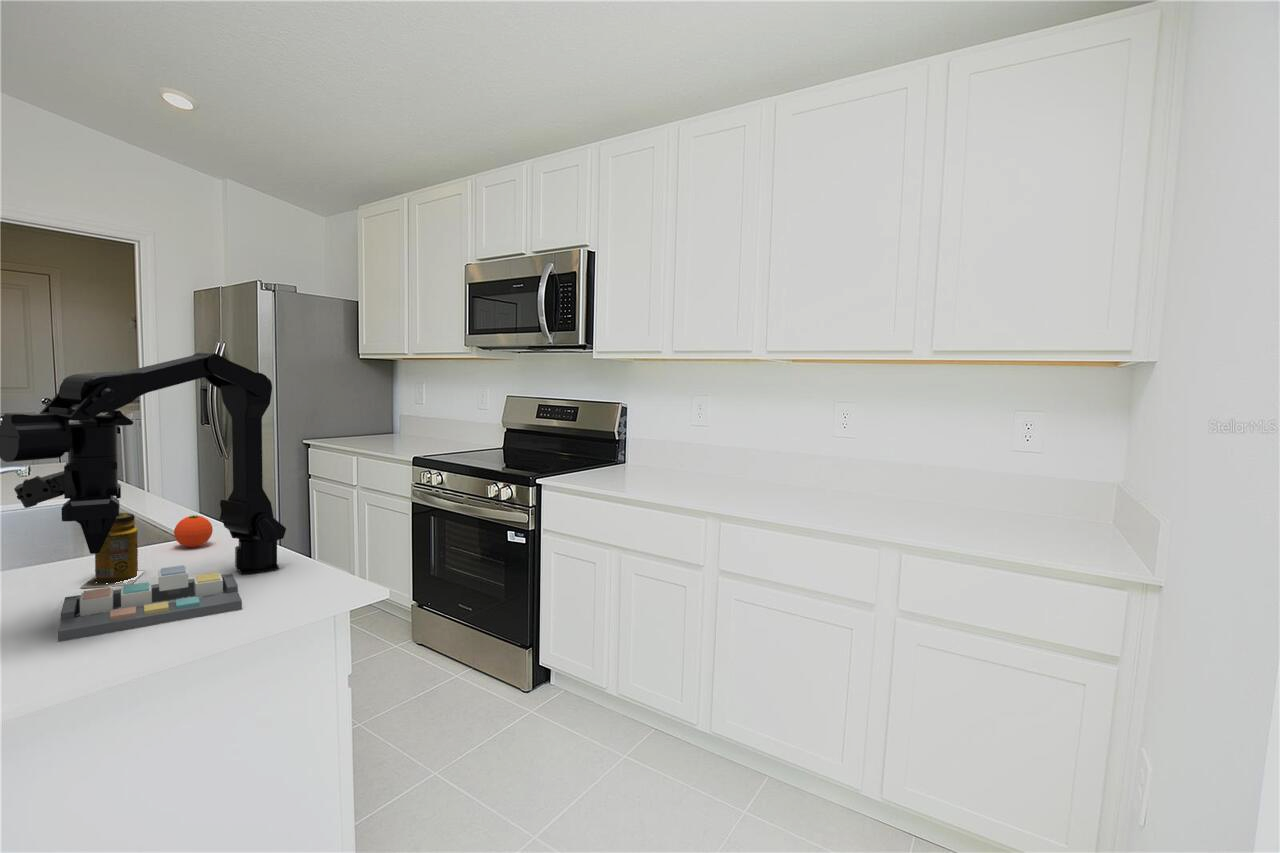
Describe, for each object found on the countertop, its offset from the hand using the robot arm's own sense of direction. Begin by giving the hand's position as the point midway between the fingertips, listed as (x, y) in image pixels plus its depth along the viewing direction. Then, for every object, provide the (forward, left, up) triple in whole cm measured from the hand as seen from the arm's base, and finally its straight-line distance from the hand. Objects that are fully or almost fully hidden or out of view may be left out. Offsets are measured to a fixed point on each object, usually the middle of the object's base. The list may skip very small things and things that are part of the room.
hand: (94, 553), depth 94 cm
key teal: (-5, 0, -11) cm, 12 cm away
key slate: (-10, 0, -8) cm, 13 cm away
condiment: (-2, -20, -11) cm, 23 cm away
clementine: (-15, -38, -11) cm, 42 cm away
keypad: (-7, +1, -11) cm, 13 cm away
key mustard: (-15, 0, -11) cm, 18 cm away
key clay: (0, 0, -11) cm, 11 cm away
